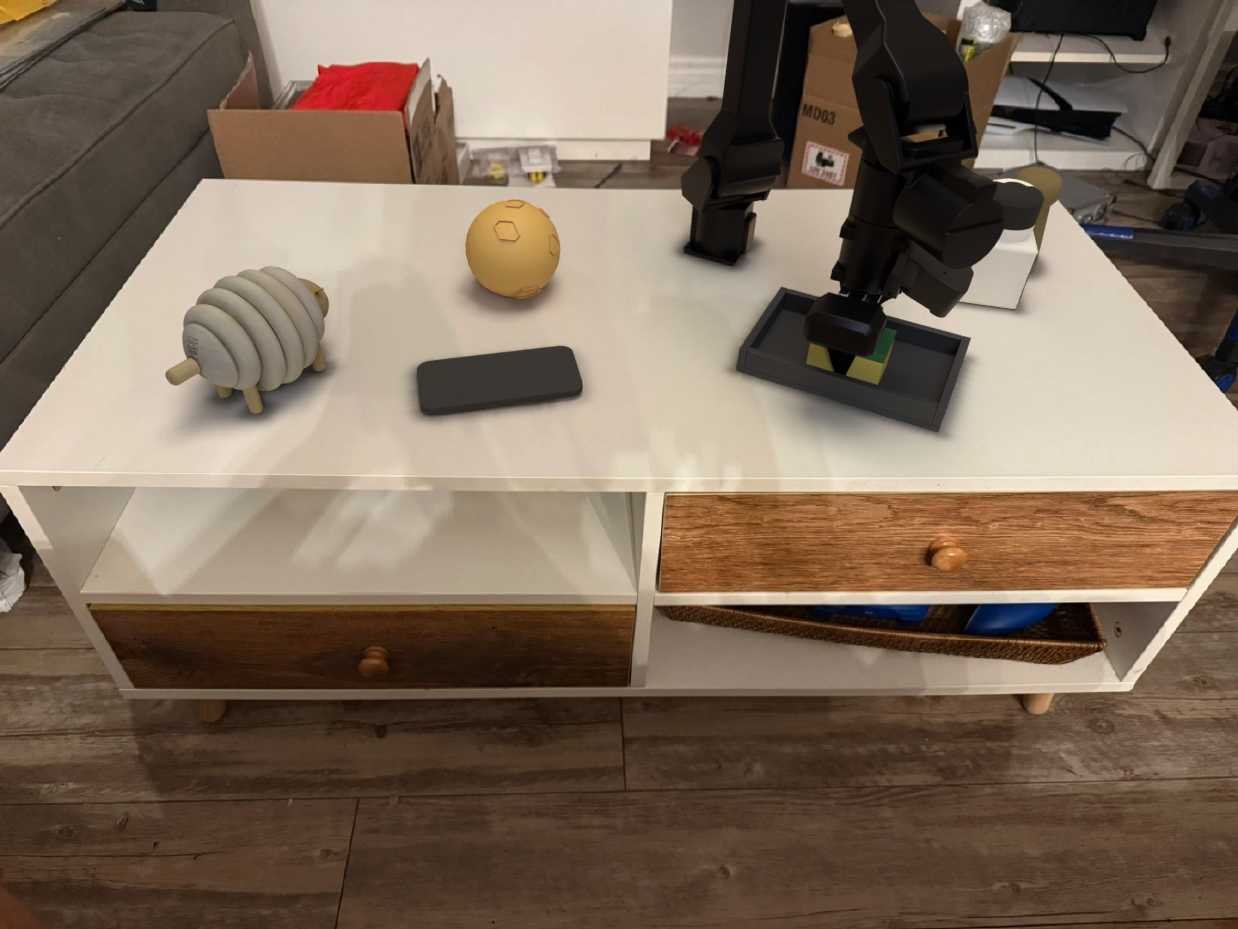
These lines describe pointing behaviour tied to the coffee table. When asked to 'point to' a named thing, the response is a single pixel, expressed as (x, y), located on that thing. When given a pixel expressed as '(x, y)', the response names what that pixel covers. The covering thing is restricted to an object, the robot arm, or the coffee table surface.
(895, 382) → the tray
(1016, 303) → the medicine bottle
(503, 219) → the stress ball
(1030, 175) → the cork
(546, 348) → the phone
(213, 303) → the toy sheep
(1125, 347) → the coffee table surface
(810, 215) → the coffee table surface
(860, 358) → the sponge
